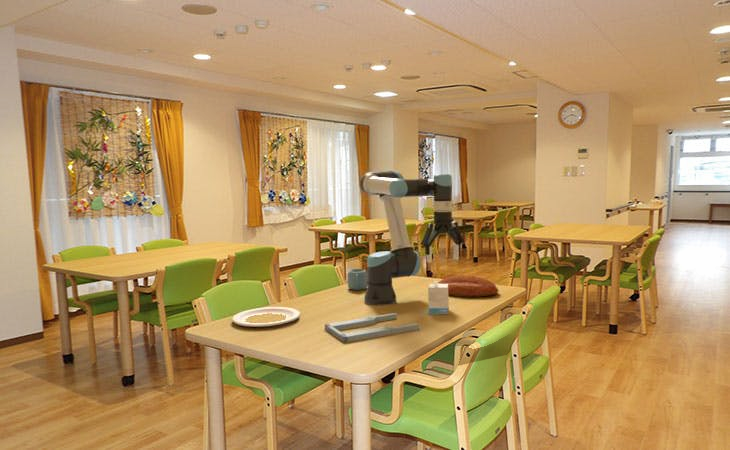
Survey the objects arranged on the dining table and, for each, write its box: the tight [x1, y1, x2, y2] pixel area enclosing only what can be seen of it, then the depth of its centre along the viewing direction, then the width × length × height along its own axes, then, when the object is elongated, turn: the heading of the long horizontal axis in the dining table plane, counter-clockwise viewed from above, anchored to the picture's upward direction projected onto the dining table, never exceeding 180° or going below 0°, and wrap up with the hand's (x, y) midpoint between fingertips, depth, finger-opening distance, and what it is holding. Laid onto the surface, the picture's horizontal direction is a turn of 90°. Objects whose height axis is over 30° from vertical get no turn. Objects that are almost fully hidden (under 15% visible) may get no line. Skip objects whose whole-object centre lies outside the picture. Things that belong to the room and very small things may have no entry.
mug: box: [347, 268, 368, 291], centre depth 268 cm, size 15×11×10 cm
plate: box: [232, 306, 301, 328], centre depth 214 cm, size 28×28×2 cm
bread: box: [437, 274, 499, 298], centre depth 254 cm, size 23×32×9 cm
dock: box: [324, 312, 420, 344], centre depth 196 cm, size 19×32×2 cm, turn 116°
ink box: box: [427, 280, 450, 315], centre depth 219 cm, size 9×8×13 cm
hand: (442, 260), depth 214 cm, fingers open, 13 cm apart
